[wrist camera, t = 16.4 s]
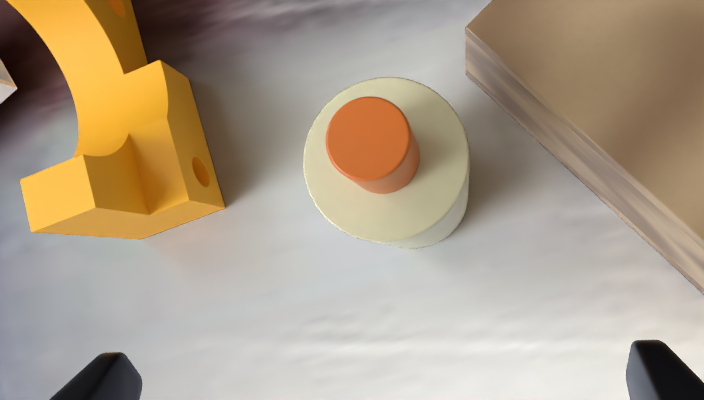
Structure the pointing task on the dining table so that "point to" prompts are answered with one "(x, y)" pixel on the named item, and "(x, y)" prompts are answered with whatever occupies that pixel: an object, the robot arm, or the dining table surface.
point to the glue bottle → (389, 163)
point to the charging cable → (5, 83)
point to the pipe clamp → (118, 131)
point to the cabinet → (609, 103)
